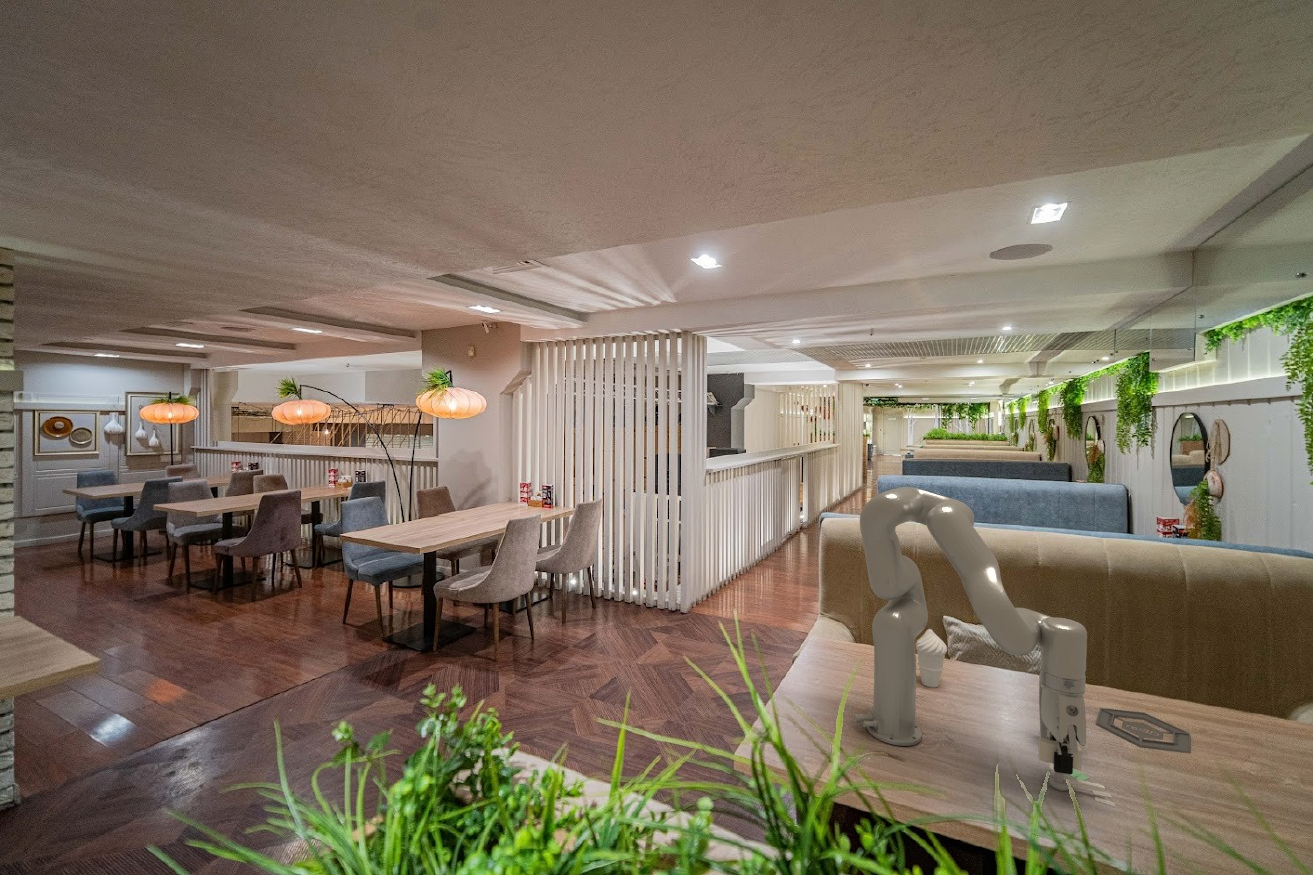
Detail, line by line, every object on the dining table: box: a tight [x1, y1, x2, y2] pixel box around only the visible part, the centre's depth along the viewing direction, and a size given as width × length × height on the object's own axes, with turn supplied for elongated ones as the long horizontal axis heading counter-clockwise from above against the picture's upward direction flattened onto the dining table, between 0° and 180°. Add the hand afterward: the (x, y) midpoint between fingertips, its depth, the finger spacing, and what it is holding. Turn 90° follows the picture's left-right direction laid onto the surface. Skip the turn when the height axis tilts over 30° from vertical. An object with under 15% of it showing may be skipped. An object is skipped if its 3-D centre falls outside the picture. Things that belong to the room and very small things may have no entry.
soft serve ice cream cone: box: [914, 628, 948, 689], centre depth 163 cm, size 8×8×16 cm
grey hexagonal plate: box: [1095, 707, 1191, 754], centre depth 140 cm, size 17×20×1 cm
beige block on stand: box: [1038, 736, 1106, 792], centre depth 115 cm, size 11×3×9 cm, turn 62°
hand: (1059, 766), depth 116 cm, fingers closed on beige block on stand, 2 cm apart
